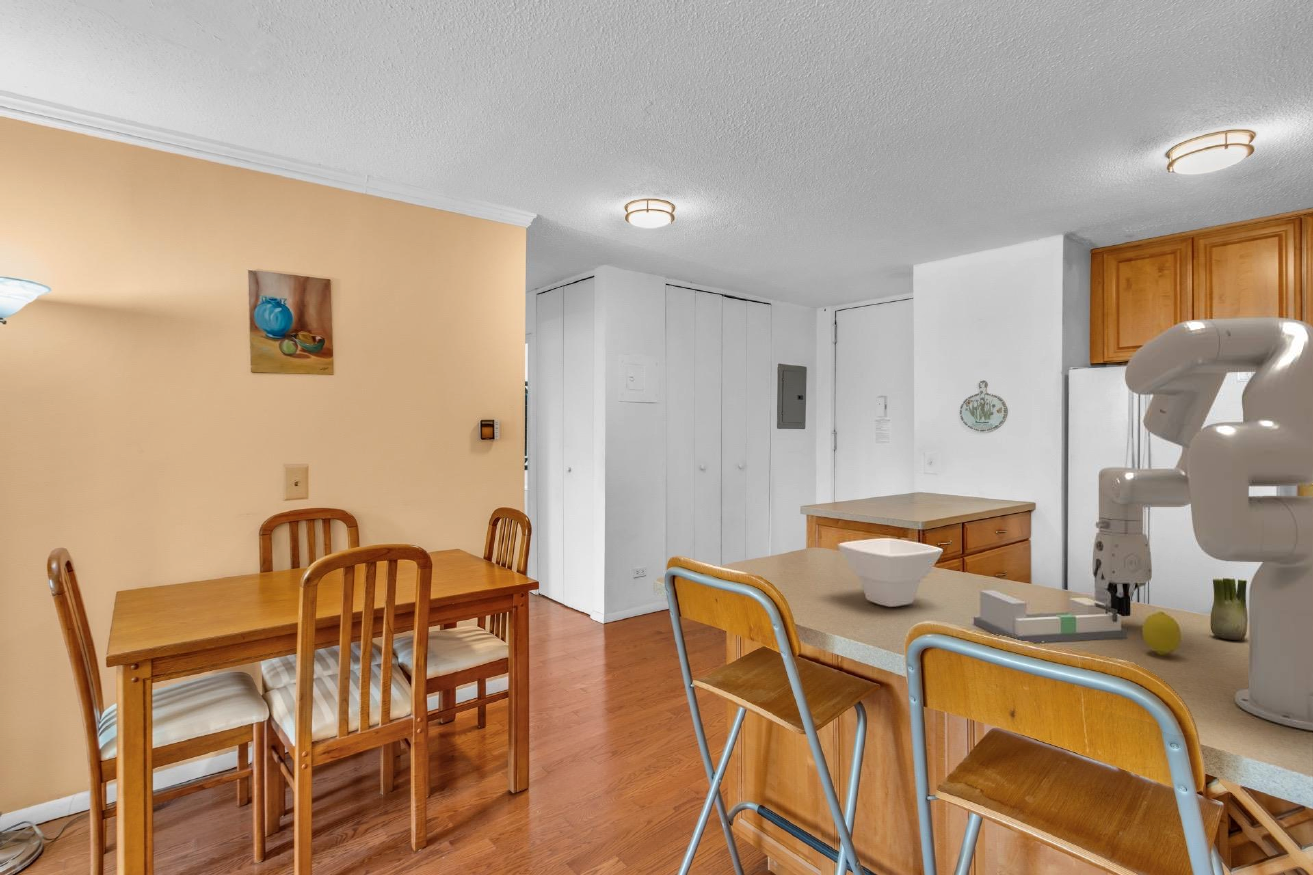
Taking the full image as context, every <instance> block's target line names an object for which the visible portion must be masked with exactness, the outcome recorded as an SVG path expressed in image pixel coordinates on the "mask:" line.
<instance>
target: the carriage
mask: <svg viewBox="0 0 1313 875" xmlns="http://www.w3.org/2000/svg"><path fill="white" fill-rule="evenodd" d="M1108 611H1110V612H1109V613H1111V614H1112V621H1113V622H1117V610H1116V609H1113V608H1110V607H1108V605H1107V604H1104V603H1101V602H1098V601H1095V599H1091V598H1088V597H1078V598H1076V597H1075V598H1068V612H1069V615H1073V616H1076V615H1096V614H1109V613H1108Z"/></svg>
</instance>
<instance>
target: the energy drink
mask: <svg viewBox="0 0 1313 875" xmlns="http://www.w3.org/2000/svg"><path fill="white" fill-rule="evenodd" d="M1095 581H1096V578H1095V577H1094V582H1095ZM1094 600H1095V601H1098V602H1101V603H1104V604H1107V605H1108V607H1110V608H1111V594H1109V593H1108V591H1107V590H1106V589H1105V588H1102V587H1099V586H1096V585H1095V584H1094ZM1108 612H1109V613H1111V612H1110V611H1108Z"/></svg>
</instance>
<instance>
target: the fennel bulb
mask: <svg viewBox="0 0 1313 875" xmlns="http://www.w3.org/2000/svg"><path fill="white" fill-rule="evenodd" d="M1247 584H1248V583H1247V580H1246V579H1238V580H1237V585H1236V579H1235V578H1227V577H1224V578H1213V579H1212V586H1213V587H1212V588H1213V602H1212V606H1211V611H1210V631H1211V633H1212V634H1213V635H1214V636H1215V637H1217V638H1218V639H1222V640H1223V639H1224V640H1229V641H1230V640H1234V641H1242V640H1244V639H1245V637H1246V636H1247V630H1248V623H1249V617H1248V609H1247Z"/></svg>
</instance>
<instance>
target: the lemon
mask: <svg viewBox="0 0 1313 875" xmlns="http://www.w3.org/2000/svg"><path fill="white" fill-rule="evenodd" d="M1141 632H1142V638H1143V640H1144V642H1145V644H1146V645H1147V646H1148V648H1150V649H1152V650H1153V651H1154V652H1156V653H1157V654H1158V655H1159V656H1165V655H1166V654H1169V653H1172V652H1175V651H1176V650H1177V649H1178V648H1179V647H1180V644H1181V640H1182V634H1181V633H1182V632H1181V629H1180V626H1179V623H1178V622H1177V621H1176V620H1175V619H1174V618H1173V617H1172V616H1170V615H1168V614H1166V613H1165V612H1163V611H1158V612H1156V613H1152V614H1150V615H1148V616H1147V617H1146V618H1145V620H1144V622H1143V625H1142V631H1141Z"/></svg>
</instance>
